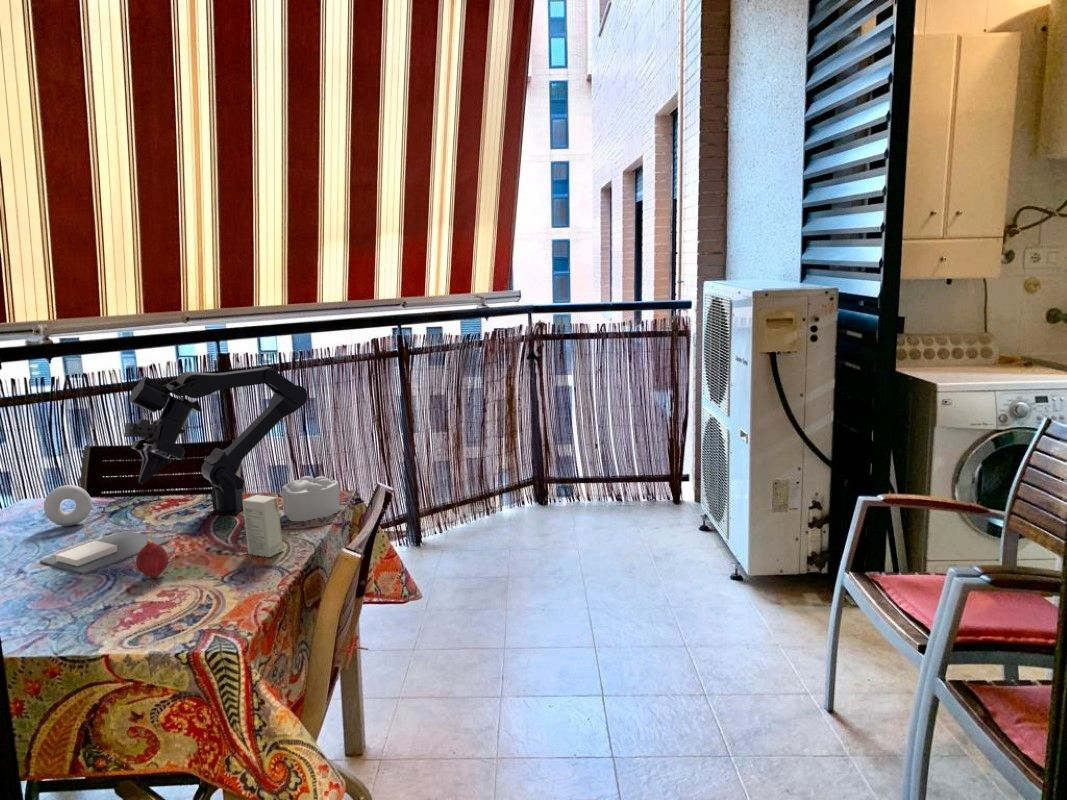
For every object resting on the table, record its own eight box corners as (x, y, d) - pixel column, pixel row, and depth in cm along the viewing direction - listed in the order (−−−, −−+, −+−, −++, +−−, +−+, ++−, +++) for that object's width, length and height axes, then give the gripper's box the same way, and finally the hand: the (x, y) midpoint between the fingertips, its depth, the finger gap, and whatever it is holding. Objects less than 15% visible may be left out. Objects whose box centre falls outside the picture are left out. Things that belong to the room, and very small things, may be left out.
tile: (95, 540, 174) (55, 554, 166) (116, 545, 171) (76, 560, 163) (96, 547, 174) (56, 561, 166) (117, 552, 171) (77, 567, 163)
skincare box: (283, 551, 171) (279, 496, 169) (269, 558, 167) (264, 502, 165) (261, 547, 174) (256, 493, 171) (246, 554, 170) (241, 499, 168)
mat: (125, 532, 185) (125, 530, 184) (169, 541, 178) (169, 540, 178) (39, 562, 167) (39, 560, 167) (85, 574, 160) (84, 572, 160)
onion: (176, 573, 160) (172, 536, 158) (154, 585, 155) (150, 546, 153) (153, 570, 162) (149, 533, 160) (131, 581, 157) (126, 543, 155)
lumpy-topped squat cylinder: (281, 512, 197) (278, 478, 195) (333, 503, 204) (331, 470, 202) (292, 524, 188) (289, 489, 187) (345, 514, 195) (343, 480, 193)
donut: (94, 519, 194) (89, 480, 192) (94, 524, 190) (89, 484, 189) (47, 526, 189) (41, 486, 187) (45, 531, 186) (40, 490, 184)
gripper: (126, 407, 188) (94, 468, 183) (152, 405, 175) (118, 470, 170) (170, 427, 195) (140, 486, 190) (198, 426, 181) (167, 490, 176)
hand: (140, 483), depth 181 cm, fingers closed
